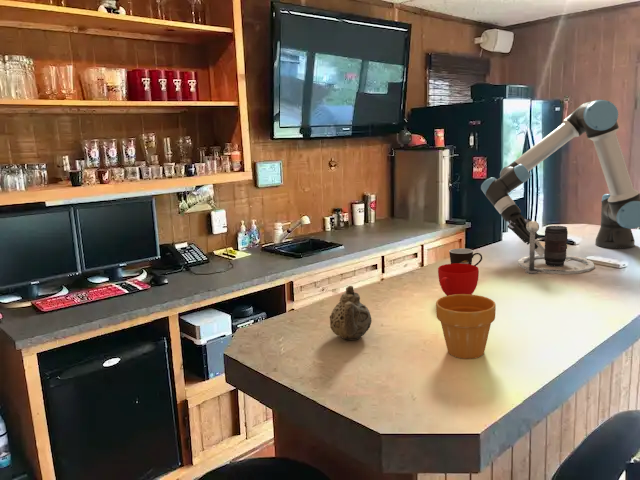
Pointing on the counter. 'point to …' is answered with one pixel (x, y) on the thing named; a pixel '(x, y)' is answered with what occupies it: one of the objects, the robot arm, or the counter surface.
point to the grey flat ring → (576, 270)
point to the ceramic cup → (458, 278)
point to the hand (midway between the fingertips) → (543, 254)
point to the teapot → (350, 316)
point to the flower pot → (465, 323)
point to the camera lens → (555, 245)
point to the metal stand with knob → (532, 245)
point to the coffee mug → (462, 256)
